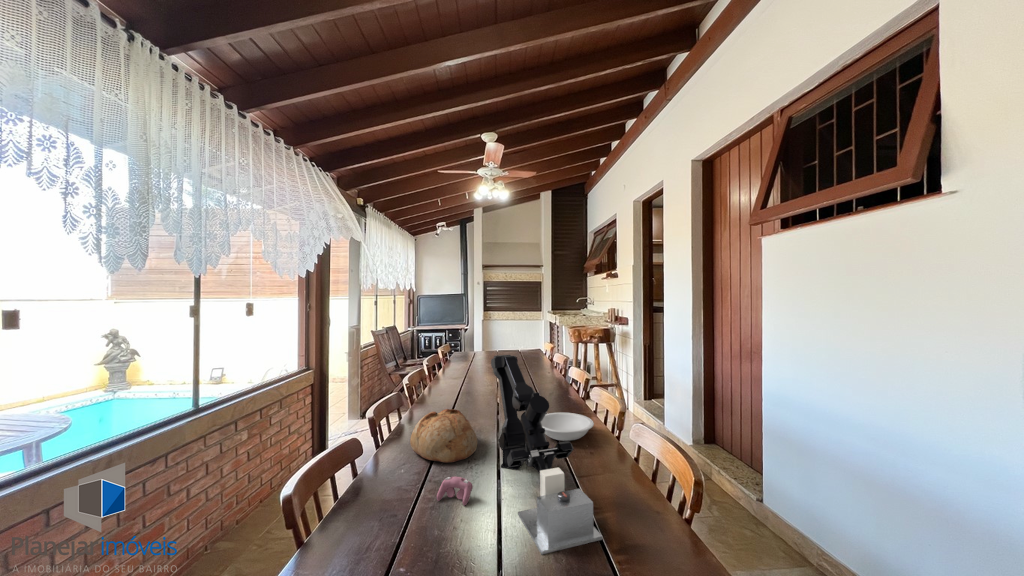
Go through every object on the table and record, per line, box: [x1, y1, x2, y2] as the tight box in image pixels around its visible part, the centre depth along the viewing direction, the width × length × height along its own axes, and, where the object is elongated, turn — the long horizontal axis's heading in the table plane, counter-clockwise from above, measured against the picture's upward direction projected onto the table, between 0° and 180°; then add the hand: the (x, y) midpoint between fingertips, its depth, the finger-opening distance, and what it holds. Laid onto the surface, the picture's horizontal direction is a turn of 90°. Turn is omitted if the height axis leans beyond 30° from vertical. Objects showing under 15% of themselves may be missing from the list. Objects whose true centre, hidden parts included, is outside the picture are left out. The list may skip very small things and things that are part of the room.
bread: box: [409, 408, 478, 464], centre depth 144 cm, size 26×23×15 cm
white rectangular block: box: [539, 467, 566, 496], centre depth 97 cm, size 10×6×12 cm, turn 18°
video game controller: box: [436, 476, 474, 507], centre depth 110 cm, size 10×5×7 cm, turn 71°
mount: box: [517, 488, 603, 555], centre depth 97 cm, size 16×16×10 cm
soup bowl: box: [541, 411, 595, 442], centre depth 156 cm, size 24×24×7 cm
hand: (549, 485), depth 102 cm, fingers closed, pressing on white rectangular block
